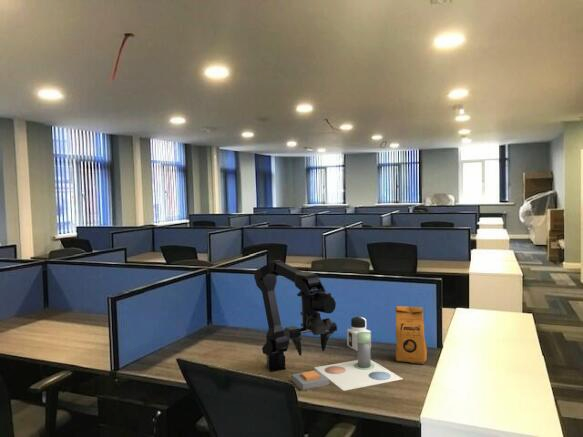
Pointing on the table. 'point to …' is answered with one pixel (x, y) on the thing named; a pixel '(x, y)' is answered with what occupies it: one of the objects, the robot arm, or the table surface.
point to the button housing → (311, 383)
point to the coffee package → (410, 335)
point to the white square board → (356, 374)
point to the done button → (310, 375)
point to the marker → (363, 349)
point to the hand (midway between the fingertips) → (311, 353)
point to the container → (356, 331)
